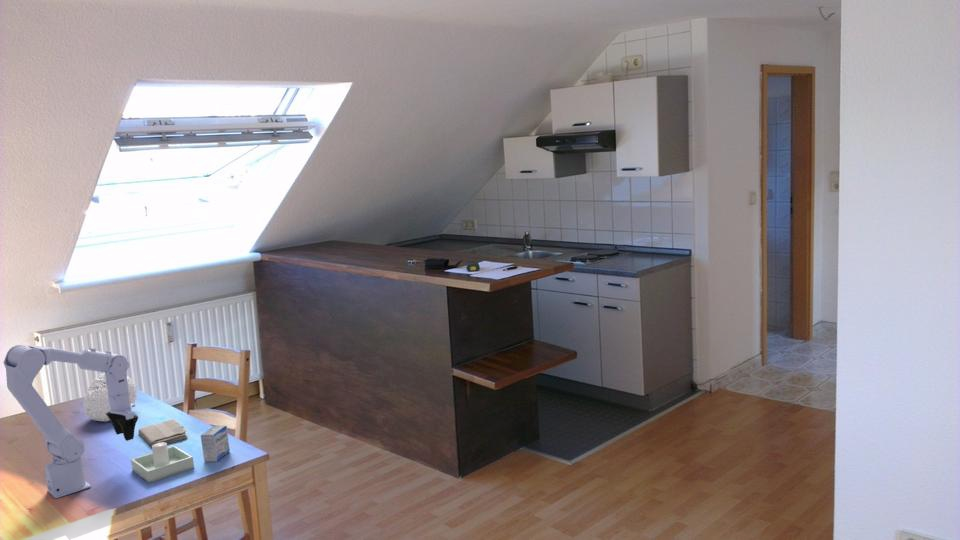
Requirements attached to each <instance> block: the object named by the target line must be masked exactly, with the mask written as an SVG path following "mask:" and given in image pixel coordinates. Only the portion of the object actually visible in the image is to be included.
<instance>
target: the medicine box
mask: <svg viewBox="0 0 960 540" xmlns="http://www.w3.org/2000/svg"><path fill="white" fill-rule="evenodd" d="M200 440H201V446H202V447H201V448H202V454H203V455H202V456H203V461H204V462H208V463H209V462H211V463H212V462H214V463H216V462H217V461H218V462H219V461H220V460H222V458H224V457H225V456H226V455H228V453H229V452H231V450H230V444H229V443H230V441H229V435H228V427H227V425H221V424H220V425H213V426H212V427H210V428H209V429H207V430H206V431H205V432H203V433H202V434H200ZM224 455H225V456H224ZM218 462H217V463H218Z"/></svg>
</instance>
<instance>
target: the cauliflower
mask: <svg viewBox="0 0 960 540" xmlns="http://www.w3.org/2000/svg"><path fill="white" fill-rule="evenodd" d="M107 373H108V372H107ZM91 381H92V382H90V385H89V386H88V387H87V388H88V389H87V392H86V393H85V395H84V397H83V402H82V405H83V406H82V407H83V410H84V414H85V415H86V417H88V419H90V420H93V421H97V422H106V423H107V422H109V421H110V422H111V420H110V419H109V417H108V416H107V415H106V413H107V412H110V410H109V409H110V407H109V398H108V391H107V384H106V377H105V372H102V373H100V374H98V375H97V376H96V377H95V378H94V379H93V380H91ZM127 381H128V388H129V395H130V402H131V403H134V404H135V402H136V401H137V388H136V385H135V383H134V382H133V380H132V379H131V378H130V377H129V375H127Z"/></svg>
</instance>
